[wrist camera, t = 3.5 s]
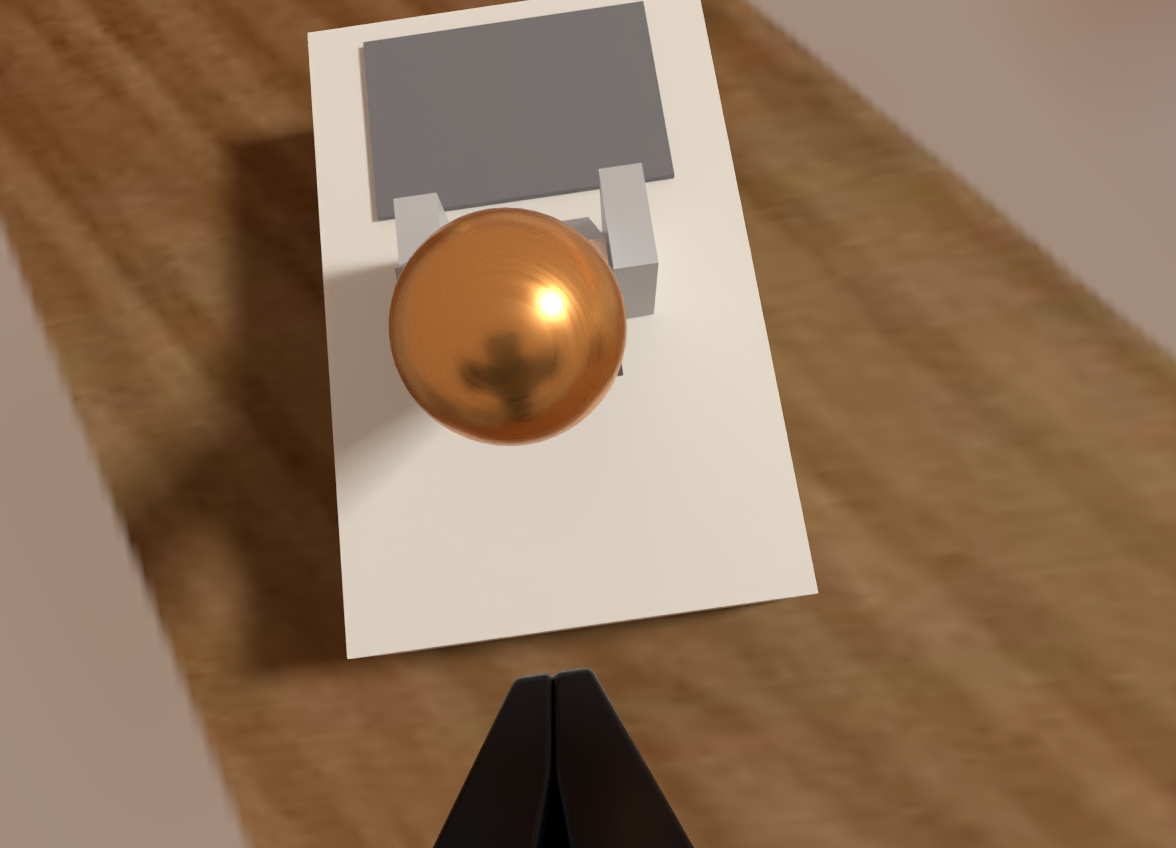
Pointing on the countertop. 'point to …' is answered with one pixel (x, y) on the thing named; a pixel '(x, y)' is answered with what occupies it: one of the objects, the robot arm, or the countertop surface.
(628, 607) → the switch box
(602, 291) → the switch lever
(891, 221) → the countertop surface
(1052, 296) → the countertop surface
